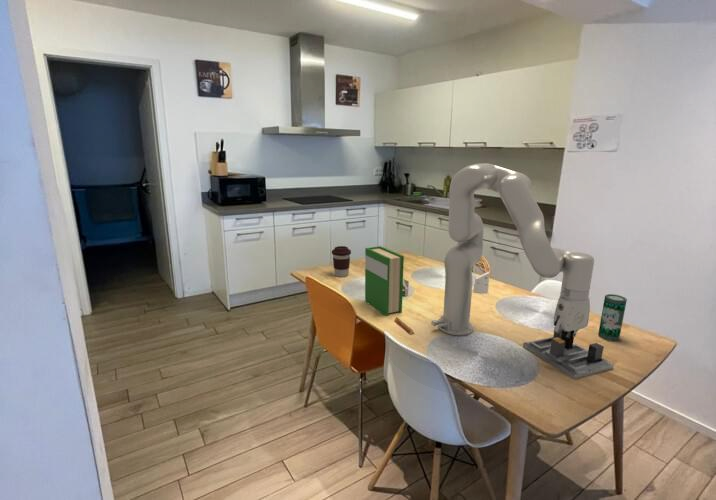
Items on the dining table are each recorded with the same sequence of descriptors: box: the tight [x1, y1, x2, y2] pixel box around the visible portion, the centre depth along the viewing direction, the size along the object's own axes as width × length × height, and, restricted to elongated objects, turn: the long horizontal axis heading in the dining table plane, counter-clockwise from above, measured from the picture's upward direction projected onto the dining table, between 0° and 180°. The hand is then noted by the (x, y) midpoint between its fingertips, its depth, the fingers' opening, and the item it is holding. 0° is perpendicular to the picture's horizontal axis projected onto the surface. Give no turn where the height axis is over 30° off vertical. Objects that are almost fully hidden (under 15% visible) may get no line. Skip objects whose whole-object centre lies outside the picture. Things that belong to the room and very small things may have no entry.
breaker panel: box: [522, 327, 615, 380], centre depth 123 cm, size 16×20×7 cm
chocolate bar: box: [393, 316, 415, 336], centre depth 144 cm, size 3×12×2 cm, turn 23°
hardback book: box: [364, 245, 405, 317], centre depth 160 cm, size 18×7×24 cm, turn 28°
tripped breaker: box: [550, 337, 565, 357], centre depth 121 cm, size 3×2×5 cm
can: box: [597, 293, 628, 342], centre depth 135 cm, size 6×6×15 cm
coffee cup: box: [331, 245, 352, 278], centre depth 201 cm, size 10×10×15 cm
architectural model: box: [402, 278, 410, 297], centre depth 176 cm, size 3×7×7 cm, turn 34°
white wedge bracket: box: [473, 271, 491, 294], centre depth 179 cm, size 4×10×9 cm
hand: (565, 347), depth 122 cm, fingers closed
